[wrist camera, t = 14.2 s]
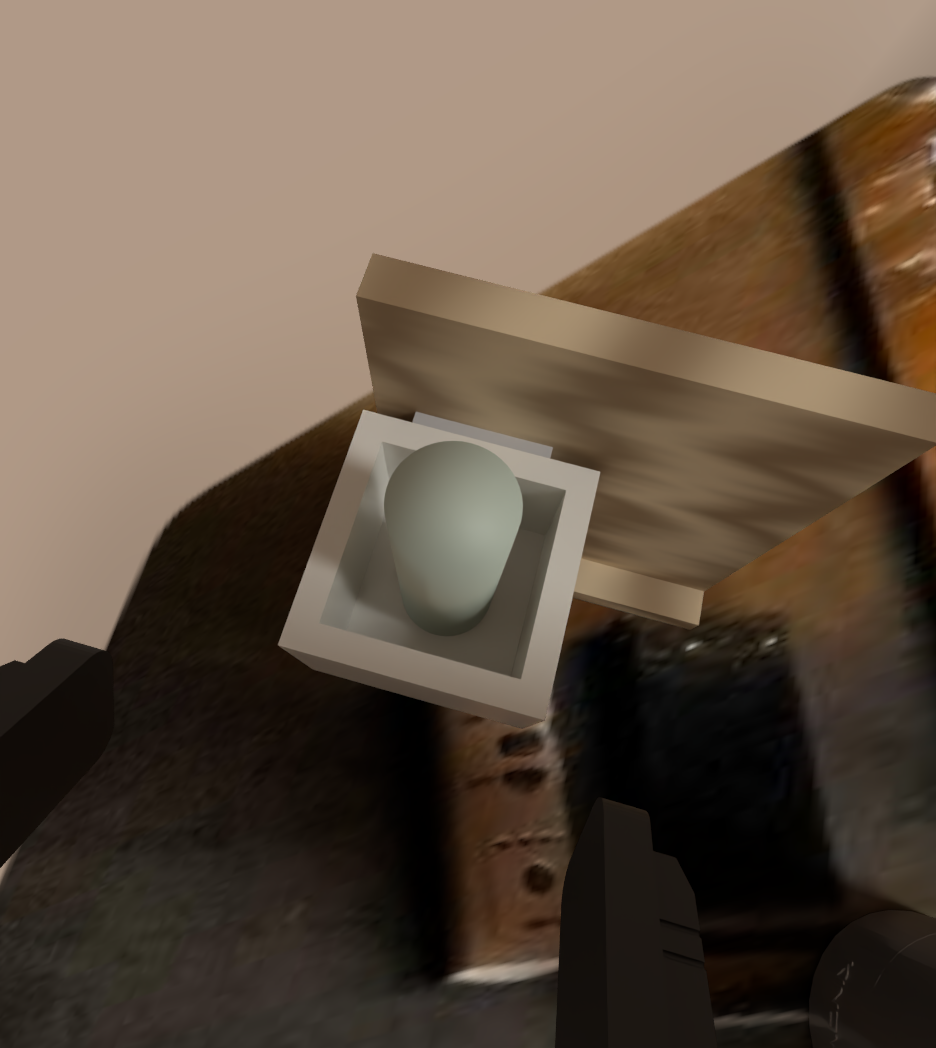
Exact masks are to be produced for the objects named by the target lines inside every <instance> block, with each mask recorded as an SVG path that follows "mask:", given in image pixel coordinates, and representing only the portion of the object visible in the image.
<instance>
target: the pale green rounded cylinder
mask: <svg viewBox="0 0 936 1048" xmlns="http://www.w3.org/2000/svg"><path fill="white" fill-rule="evenodd" d="M522 513H523V501H522V494H521V490H520V487H519V484H518V482H517V479H516V478H515V476H514V474H513V472H512V471H511V470H510V468H509V467H508V466H507V465H506V464H505V463H504V462H503V460H502V459H500V458H499V457H498V456H497V455H495V454H494V453H492V452H491V451H489V450H487V449H485V448H483V447H481V446H479V445H475V444H472V443H468V442H463V441H443V442H437V443H433V444H430V445H427V446H424V447H422V448H420V449H418V450H416V451H415V452H413V453H412V454H410V455H409V456H408V457H406V458H405V459H404V460H403V461H402V462H401V463H400V464H399V465H398V467H397V468H396V469H395V471H394V472H393V474H392V476H391V478H390V480H389V482H388V485H387V488H386V492H385V497H384V514H385V519H386V524H387V529H388V534H389V539H390V543H391V548H392V553H393V558H394V562H395V567H396V572H397V577H398V582H399V586H400V591H401V596H402V601H403V605H404V608H405V610H406V612H407V614H408V615H409V617H410V618H411V620H412V621H413V622H414V623H415V624H416V625H417V626H418V627H420V628H421V629H423V630H424V631H427V632H429V633H431V634H434V635H439V636H455V635H459V634H462V633H465V632H467V631H469V630H471V629H472V628H474V627H475V626H476V625H477V624H478V623H480V621H481V620H482V619H483V618H484V616H485V615H486V613H487V611H488V609H489V606H490V604H491V601H492V598H493V596H494V593H495V590H496V588H497V585H498V582H499V580H500V577H501V575H502V572H503V569H504V567H505V564H506V561H507V559H508V556H509V553H510V551H511V548H512V545H513V543H514V540H515V537H516V535H517V532H518V529H519V526H520V523H521V519H522Z"/></svg>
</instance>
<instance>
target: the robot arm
mask: <svg viewBox="0 0 936 1048" xmlns="http://www.w3.org/2000/svg"><path fill="white" fill-rule="evenodd" d="M113 726H114V696H113V661H112V656H111V655H110V653H109V652H107V651H104V650H101V649H97V648H94V647H91V646H87V645H84V644H80V643H77V642H73V641H70V640H66V639H58V640H55V641H53V642H52V643H50V644H49V645H47V646H46V647H45V648H44V649H42V650H41V651H40V652H39V653H37V654H36V655H35V656H34V657H32V658H31V659H30V660H28V661H27V662H26V663H22V662H18V661H12V662H10V663H7V664H5V665H3V666H0V868H1V867H2V866H3V864H4V863H5V862H6V861H7V860H8V859H9V858H10V857H11V856H12V854H13V853H14V852H15V851H16V850H17V849H18V848H19V847H20V846H21V844H22V843H23V842H24V841H25V840H26V839H27V838H28V837H29V836H30V834H31V833H32V832H33V831H34V830H35V829H36V828H37V827H38V826H39V825H40V823H41V822H42V821H43V820H44V819H45V818H46V817H47V816H48V815H49V813H50V812H51V811H52V810H53V809H54V808H55V807H56V806H57V805H58V803H59V802H60V801H61V800H62V799H63V798H64V797H65V796H66V795H67V794H68V792H69V791H70V790H71V789H72V788H73V787H74V786H75V785H76V784H77V782H78V781H79V780H80V779H81V778H82V777H83V776H84V775H85V774H86V772H87V771H88V770H89V769H90V768H91V767H92V766H93V765H94V764H95V762H96V761H97V760H98V759H99V757H100V756H101V755H102V753H103V751H104V750H105V748H106V746H107V744H108V742H109V740H110V737H111V734H112V731H113ZM699 932H700V927H699V920H698V914H697V907H696V900H695V894H694V892H693V890H692V888H691V886H690V884H689V882H688V880H687V878H686V876H685V874H684V872H683V870H682V869H681V867H680V865H679V863H678V861H677V859H676V858H675V857H672V856H668V855H665V854H661V853H658V852H655V851H653V845H652V835H651V824H650V818H649V814H648V812H647V811H645V810H642V809H638V808H635V807H632V806H628V805H625V804H621V803H618V802H614V801H611V800H608V799H604V798H601V797H599V798H598V799H597V800H596V801H595V803H594V805H593V808H592V810H591V812H590V815H589V817H588V819H587V822H586V824H585V826H584V829H583V831H582V833H581V836H580V838H579V840H578V843H577V845H576V848H575V850H574V852H573V855H572V857H571V859H570V862H569V865H568V869H567V872H566V877H565V881H564V887H563V894H562V904H561V926H560V949H559V971H558V994H557V1017H556V1040H555V1048H718V1046H717V1040H716V1033H715V1026H714V1020H713V1013H712V1006H711V1000H710V993H709V987H708V980H707V973H706V970H704V963H705V960H704V953H703V947H702V940H701V938H699ZM809 1028H810V1034H811V1039H812V1045H813V1048H936V918H933V917H929V916H926V915H923V914H919V913H916V912H913V911H902V910H886V911H880V912H875V913H870V914H868V915H865V916H863V917H861V918H859V919H857V920H855V921H853V922H851V923H850V924H849V925H847V926H846V927H845V928H844V929H843V930H842V931H840V932H839V933H838V934H837V935H836V936H835V937H834V938H833V940H832V941H831V943H830V944H829V945H828V947H827V948H826V950H825V951H824V952H823V954H822V956H821V959H820V961H819V964H818V966H817V969H816V971H815V973H814V976H813V982H812V987H811V992H810V998H809Z"/></svg>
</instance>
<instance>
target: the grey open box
mask: <svg viewBox="0 0 936 1048" xmlns="http://www.w3.org/2000/svg"><path fill="white" fill-rule="evenodd" d="M443 441H463V442H468V443H472V444H475V445H479V446H481V447H483V448H485V449H487V450H489V451H491V452H492V453H494V454H495V455H497V456H498V457H499V458H500V459H502V460H503V462H504V463H505V464H506V465H507V466H508V467H509V468H510V470H511V471H512V472H513V474H514V476H515V478H516V479H517V482H518V484H519V487H520V490H521V494H522V501H523V513H522V519H521V523H520V526H519V529H518V532H517V535H516V537H515V540H514V543H513V545H512V548H511V551H510V553H509V556H508V559H507V561H506V564H505V567H504V569H503V572H502V575H501V577H500V580H499V582H498V585H497V588H496V590H495V593H494V596H493V598H492V601H491V604H490V606H489V609H488V611H487V613H486V615H485V616H484V618H483V619H482V620H481V621H480V623H478V624H477V625H476V626H475V627H474V628H472V629H471V630H469V631H467V632H465V633H462V634H459V635H455V636H439V635H434V634H431V633H429V632H427V631H424V630H423V629H421V628H420V627H418V626H417V625H416V624H415V623H414V622H413V621H412V620H411V618H410V617H409V615H408V614H407V612H406V610H405V608H404V605H403V601H402V596H401V591H400V586H399V582H398V577H397V572H396V567H395V562H394V558H393V553H392V548H391V543H390V539H389V534H388V529H387V524H386V519H385V514H384V497H385V492H386V488H387V485H388V482H389V480H390V478H391V476H392V474H393V472H394V471H395V469H396V468H397V467H398V465H399V464H400V463H401V462H402V461H403V460H404V459H405V458H406V457H408V456H409V455H410V454H412V453H413V452H415V451H416V450H418V449H420V448H422V447H424V446H427V445H430V444H433V443H437V442H443ZM552 449H553V447H550V446H546V445H542V444H538V443H535V442H531V441H527V440H523V439H519V438H515V437H512V436H508V435H504V434H500V433H496V432H492V431H489V430H485V429H481V428H477V427H473V426H469V425H466V424H462V423H458V422H454V421H450V420H446V419H442V418H439V417H435V416H431V415H427V414H423V413H419V412H416V413H415V416H414V419H413V422H408V421H405V420H401V419H397V418H393V417H389V416H385V415H382V414H378V413H374V412H370V411H366V410H363V412H362V415H361V417H360V420H359V423H358V426H357V428H356V431H355V434H354V437H353V439H352V442H351V445H350V448H349V450H348V453H347V456H346V459H345V461H344V464H343V467H342V470H341V472H340V475H339V478H338V481H337V483H336V486H335V489H334V492H333V494H332V497H331V500H330V503H329V505H328V508H327V511H326V514H325V516H324V519H323V522H322V525H321V527H320V530H319V533H318V536H317V538H316V541H315V544H314V547H313V549H312V552H311V555H310V558H309V560H308V563H307V566H306V569H305V571H304V574H303V577H302V580H301V582H300V585H299V588H298V591H297V593H296V596H295V599H294V602H293V604H292V607H291V610H290V613H289V615H288V618H287V621H286V624H285V626H284V629H283V632H282V635H281V637H280V640H279V643H278V646H280V647H281V648H282V649H284V650H285V651H287V652H288V653H290V654H291V655H293V656H294V657H296V658H297V659H298V660H300V661H301V662H303V663H304V664H306V665H307V666H309V667H310V668H312V669H313V670H316V671H320V672H324V673H327V674H331V675H334V676H338V677H341V678H345V679H348V680H352V681H355V682H359V683H362V684H366V685H370V686H373V687H377V688H380V689H384V690H387V691H391V692H394V693H398V694H401V695H405V696H408V697H412V698H416V699H419V700H423V701H426V702H430V703H433V704H437V705H440V706H444V707H447V708H451V709H454V710H458V711H461V712H465V713H469V714H472V715H476V716H479V717H483V718H486V719H490V720H493V721H497V722H500V723H504V724H507V725H511V726H515V727H518V728H525V727H528V726H531V725H534V724H536V723H539V722H542V721H545V718H546V714H547V709H548V705H549V700H550V696H551V691H552V687H553V682H554V678H555V673H556V669H557V664H558V660H559V655H560V651H561V646H562V642H563V637H564V633H565V629H566V624H567V620H568V615H569V611H570V606H571V602H572V597H573V593H574V588H575V584H576V579H577V575H578V570H579V566H580V561H581V557H582V552H583V548H584V543H585V539H586V534H587V530H588V525H589V521H590V516H591V512H592V508H593V503H594V499H595V494H596V490H597V485H598V481H599V476H600V471H596V470H592V469H588V468H584V467H580V466H577V465H573V464H569V463H565V462H561V461H557V460H554V459H550V457H551V453H552Z"/></svg>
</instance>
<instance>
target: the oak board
mask: <svg viewBox="0 0 936 1048" xmlns="http://www.w3.org/2000/svg"><path fill="white" fill-rule="evenodd" d="M356 298H357V304H358V308H359V314H360V320H361V325H362V331H363V336H364V342H365V347H366V353H367V358H368V364H369V369H370V374H371V380H372V386H373V391H374V397H375V402H376V407H377V413H378V414H382V415H385V416H389V417H393V418H397V419H401V420H405V421H408V422H413V419H414V416H415V413H416V412H419V413H423V414H427V415H431V416H435V417H439V418H442V419H446V420H450V421H454V422H458V423H462V424H466V425H469V426H473V427H477V428H481V429H485V430H489V431H492V432H496V433H500V434H504V435H508V436H512V437H515V438H519V439H523V440H527V441H531V442H535V443H538V444H542V445H546V446H550V447H553V449H552V453H551V457H550V459H554V460H557V461H561V462H565V463H569V464H573V465H577V466H580V467H584V468H588V469H592V470H596V471H600V476H599V481H598V485H597V490H596V494H595V499H594V503H593V508H592V512H591V516H590V521H589V525H588V530H587V534H586V539H585V543H584V548H583V552H582V557H581V561H580V566H579V570H578V575H577V579H576V584H575V588H574V593H573V597H572V598H576V599H579V600H583V601H587V602H590V603H594V604H598V605H602V606H605V607H609V608H613V609H616V610H620V611H624V612H627V613H631V614H635V615H638V616H642V617H646V618H649V619H653V620H657V621H660V622H664V623H668V624H671V625H675V626H679V627H682V628H686V629H692V628H694V627H696V626H698V625H699V619H700V613H701V607H702V600H703V594H704V591H705V590H707V589H709V588H710V587H712V586H713V585H715V584H716V583H718V582H720V581H721V580H723V579H724V578H726V577H728V576H729V575H731V574H732V573H734V572H736V571H737V570H739V569H740V568H742V567H743V566H745V565H747V564H748V563H750V562H751V561H753V560H755V559H756V558H758V557H759V556H761V555H763V554H764V553H766V552H767V551H769V550H770V549H772V548H774V547H775V546H777V545H778V544H780V543H782V542H783V541H785V540H786V539H788V538H790V537H791V536H793V535H794V534H796V533H797V532H799V531H801V530H802V529H804V528H805V527H807V526H809V525H810V524H812V523H813V522H815V521H816V520H818V519H820V518H821V517H823V516H824V515H826V514H828V513H829V512H831V511H832V510H834V509H836V508H837V507H839V506H840V505H842V504H843V503H845V502H847V501H848V500H850V499H851V498H853V497H855V496H856V495H858V494H859V493H861V492H863V491H864V490H866V489H867V488H869V487H870V486H872V485H874V484H875V483H877V482H878V481H880V480H882V479H883V478H885V477H886V476H888V475H889V474H891V473H893V472H894V471H896V470H897V469H899V468H901V467H902V466H904V465H905V464H907V463H909V462H910V461H912V460H913V459H915V458H916V457H918V456H920V455H921V454H923V453H924V452H926V451H928V450H929V449H931V448H932V447H934V446H936V394H935V393H931V392H927V391H923V390H919V389H915V388H911V387H907V386H903V385H899V384H895V383H891V382H887V381H883V380H879V379H875V378H871V377H867V376H863V375H859V374H855V373H851V372H847V371H843V370H839V369H835V368H831V367H827V366H823V365H819V364H815V363H811V362H807V361H803V360H799V359H795V358H791V357H787V356H783V355H779V354H775V353H771V352H767V351H763V350H759V349H755V348H751V347H747V346H743V345H739V344H735V343H731V342H727V341H723V340H719V339H715V338H711V337H707V336H703V335H699V334H695V333H691V332H687V331H683V330H679V329H675V328H671V327H667V326H663V325H659V324H655V323H651V322H647V321H643V320H639V319H635V318H631V317H627V316H623V315H619V314H615V313H611V312H607V311H602V310H598V309H594V308H590V307H586V306H582V305H578V304H574V303H570V302H566V301H562V300H558V299H554V298H550V297H546V296H542V295H538V294H534V293H530V292H526V291H522V290H518V289H514V288H510V287H506V286H502V285H498V284H494V283H490V282H486V281H482V280H478V279H474V278H470V277H466V276H462V275H458V274H454V273H450V272H446V271H442V270H438V269H434V268H430V267H426V266H422V265H417V264H414V263H410V262H406V261H401V260H398V259H394V258H390V257H386V256H382V255H377V254H372V257H371V259H370V262H369V264H368V267H367V269H366V272H365V274H364V277H363V280H362V282H361V285H360V287H359V290H358V292H357V295H356Z"/></svg>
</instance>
